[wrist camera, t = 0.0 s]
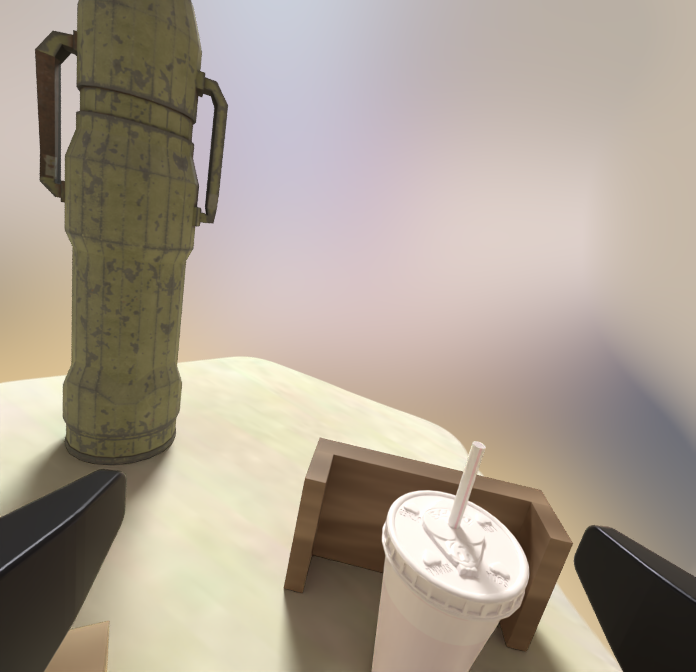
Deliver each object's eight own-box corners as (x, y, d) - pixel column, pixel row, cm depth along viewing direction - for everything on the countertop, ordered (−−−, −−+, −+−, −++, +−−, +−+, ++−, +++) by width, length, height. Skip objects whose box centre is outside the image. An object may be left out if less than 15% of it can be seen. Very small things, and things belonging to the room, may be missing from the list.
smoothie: (449, 634, 23) (522, 427, 19) (487, 783, 17) (605, 519, 13) (344, 618, 23) (399, 405, 19) (343, 764, 16) (423, 488, 13)
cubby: (526, 651, 23) (572, 543, 21) (283, 588, 24) (305, 478, 22) (504, 585, 27) (541, 490, 25) (300, 533, 28) (319, 437, 26)
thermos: (49, 416, 36) (46, -34, 27) (186, 409, 42) (222, 39, 33) (29, 475, 28) (15, -117, 19) (198, 456, 34) (248, -4, 25)
